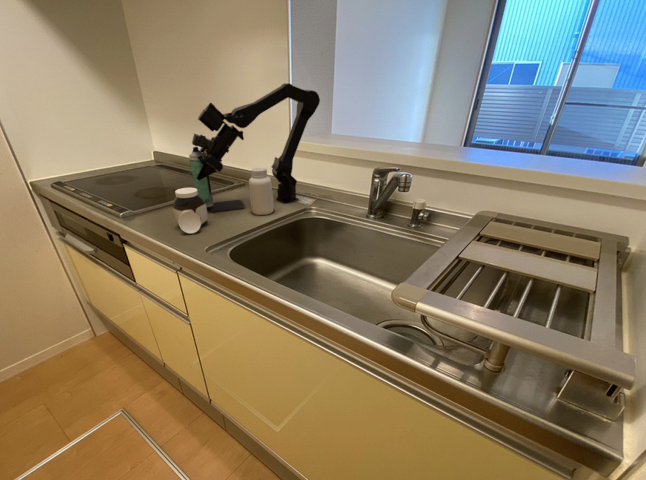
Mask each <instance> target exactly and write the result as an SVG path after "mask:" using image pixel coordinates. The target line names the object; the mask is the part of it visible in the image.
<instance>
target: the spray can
mask: <svg viewBox="0 0 646 480" xmlns="http://www.w3.org/2000/svg"><path fill="white" fill-rule="evenodd" d="M204 156H205V154H203V153H202V152H200V149H199V146H193V147H192V150H191V153H190V154H188V158H189V165H190V170H191V174H192V175H191V176H192V179H193V185H194V188H196V189H197V191H198V195H199V196H200V197H201V198H202V199H203V200H204V201H205V204H206V208H210V206H213V205H214V204H213V203H214V198H213V193H212V187H211V181H210V175H209V176H207V177H205V178H203V179H201V180H197V176H198V174H199V172H200V170H201V168H202V166H203V162H202V158H203V159H204Z"/></svg>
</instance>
